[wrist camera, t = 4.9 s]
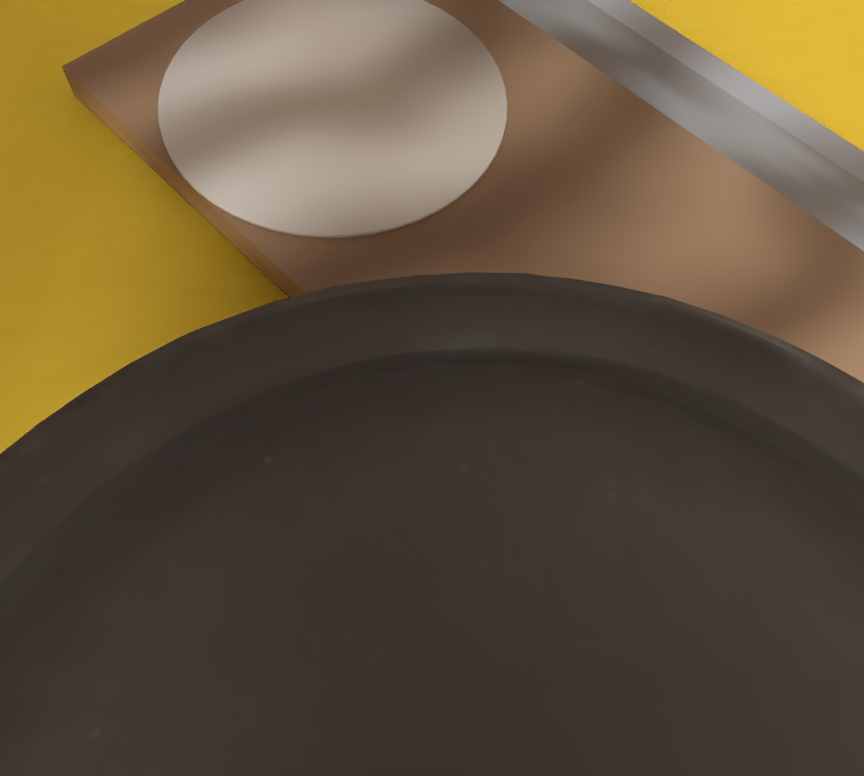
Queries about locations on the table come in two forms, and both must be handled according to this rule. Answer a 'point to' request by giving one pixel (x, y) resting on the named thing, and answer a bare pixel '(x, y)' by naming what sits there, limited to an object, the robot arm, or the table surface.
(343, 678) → the coffee can
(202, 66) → the board
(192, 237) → the table surface
